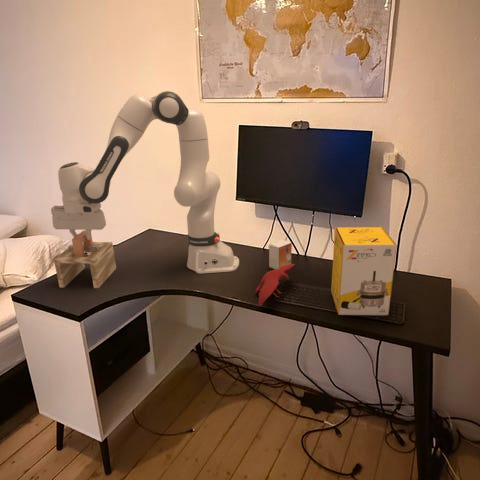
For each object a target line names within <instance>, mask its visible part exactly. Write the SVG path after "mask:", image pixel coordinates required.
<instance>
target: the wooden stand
mask: <svg viewBox="0 0 480 480" xmlns="http://www.w3.org/2000/svg"><path fill="white" fill-rule="evenodd" d="M83 248H84V252H85V251H91V252H92V253H89V254H88V256H85V257H75V254H74V248H73V244H69V245H68V246H67V248H66V249H65V250H63V251H62V252H61V253H60V254H58V255H57V256H56V257H55V258H54V259H53V264H54V267H55V272H56V273H55V274H56V277H57V282H58V286H59V288H66V287H67V286H68V285H69V284H70V283H71V282H72V281H73V280H74V279H76V277H77V276H78V275H79V274H80V273H81V272H83V270H84V269H85V268H86V265H85V264H89V267H90V268H89V269H90V274H91V279H92V284H93V285H92V286H93V289H100V288H101V286H102V285H103V284H104V283H105V282H106V281H107V279H108V278H109V277H110V276H111V275H112V274H113V273H114V271H115V270H116V269H117V264H116V263H117V262H116V259H115V251H114V246H113V242H112V241H108V242H107V241H93V245H84V244H83Z"/></svg>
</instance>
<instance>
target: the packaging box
mask: <svg viewBox="0 0 480 480" xmlns="http://www.w3.org/2000/svg"><path fill="white" fill-rule="evenodd" d="M397 247H398V246H397V243H396V242H395V241H394V240H393V238H392V237H391V236H390V235H389V233H388V232H387V230H386V229H385V228H384V227H383V226H379V227H378V226H377V227H376V226H375V227H374V226H373V227H371V226H369V227H361V226H358V227H357V226H356V227H355V226H354V227H346V226H345V227H335V228H334V238H333V255H332V270H331V271H332V272H331V285H330V286H331V289H330V292H331V296H332V297H333V298H332V299H333V302H334V304H335V309H336V311H337V314H338V316H339V315H340V316H389V314H390V313H389V312H390V304H391V297H392V288H393V281H394V280H393V279H394V271H395V263H396V254H397Z"/></svg>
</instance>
